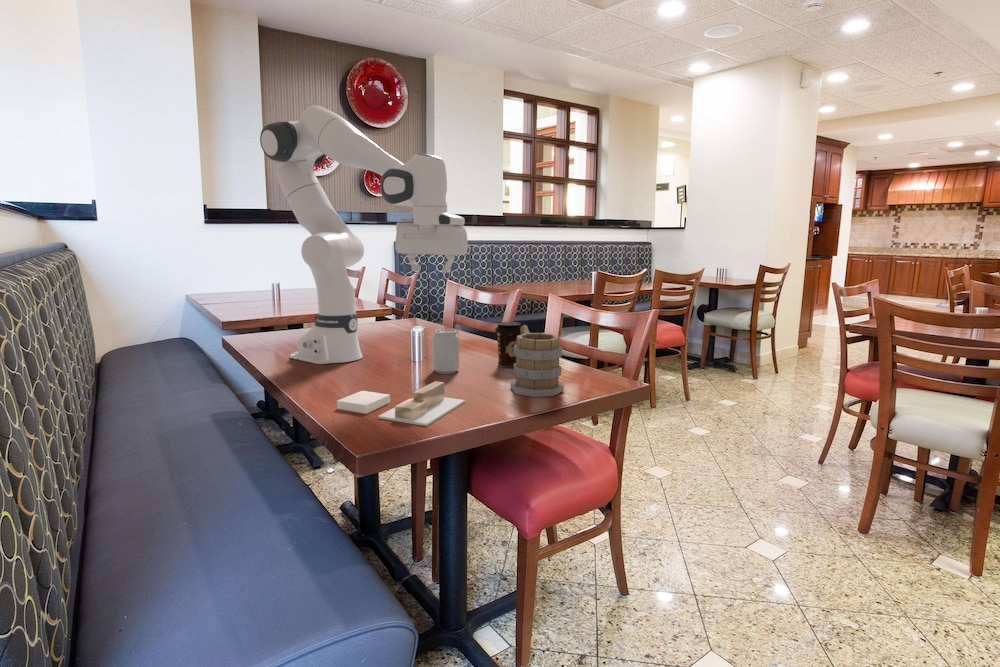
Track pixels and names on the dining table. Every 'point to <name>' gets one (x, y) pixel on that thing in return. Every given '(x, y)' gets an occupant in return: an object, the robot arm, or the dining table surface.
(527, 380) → the tankard
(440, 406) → the mat
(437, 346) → the can
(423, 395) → the tan stepped bar
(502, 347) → the coffee cup
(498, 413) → the dining table surface
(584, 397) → the dining table surface
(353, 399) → the tile
